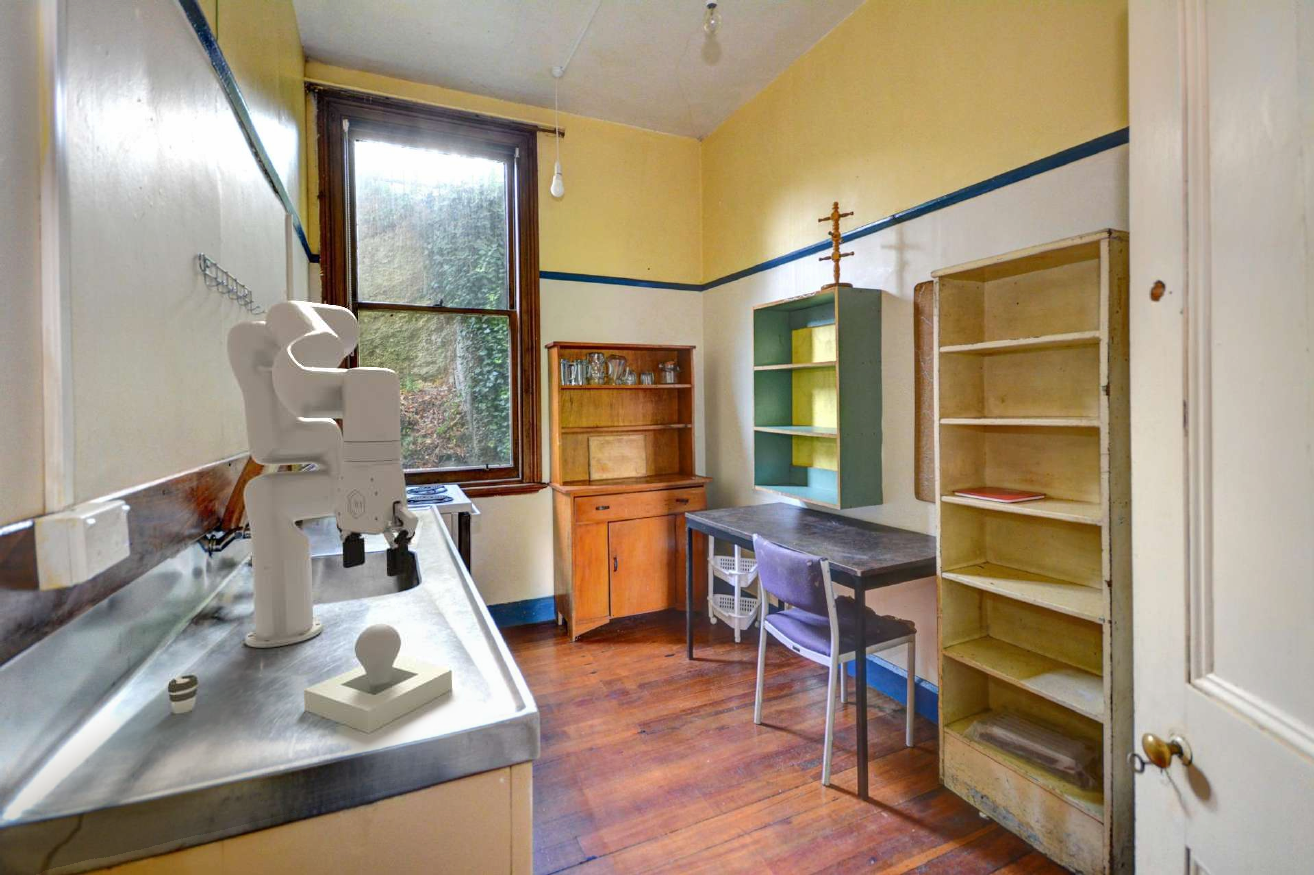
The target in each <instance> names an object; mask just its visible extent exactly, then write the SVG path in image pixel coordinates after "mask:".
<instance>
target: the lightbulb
mask: <svg viewBox="0 0 1314 875" xmlns="http://www.w3.org/2000/svg"><path fill="white" fill-rule="evenodd" d="M401 646H402V639H401V636H400V634H399V632H398V630H397V629H395V627H393V626H392V625H389V624H386V623H376V624H373V625H371V626H368V627H366V629H364V630H363V631H362V632H361V633H360V634H359V635H358V637H357V638H356V641H355V645H354V654H355V657H356V659H357V660H358V662H359V663H360V666H363V667H364V670H365V672H366V675H367V681H368V684H369V685H370V686H369V687H370V692H369V694H372V695H376V694H378V693H380V692H382V691H384V690H386V689H389V688H390V686H391V685H390V684H389V681H390V679H391V671H392V666H393V663H394V661H395V659H396V657H397V656H399V652H400V650H401Z"/></svg>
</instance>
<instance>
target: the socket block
mask: <svg viewBox="0 0 1314 875" xmlns="http://www.w3.org/2000/svg"><path fill="white" fill-rule="evenodd" d="M452 672H453V671H452V669H450V668H447V667H441V666H438V665H434V664H430V663H426V662H422V661H418V660H415V659H411V658H406V657H404V656H399V655H397V657H396V659H395V661H394V663H393V666H392V671H391V679H390V681H389V684H390V685H389V686H391V687H389V689H386V690H384V691H382V692H380V693H378V694H376V695H372V694H370V687H369V686H370V685H369V684H368V681H367V675H366V672H365V670H364V667H363V666H362V665H360V666H358V667H357V666H356V667H355V668H353V669H350V670H348V671H346V672H343V673H341V674H338V675H335V676H333V677H331V678H329V679H325V680H324V681H321V682H318V683H316V684H313V685H311V686H309V687H306V688H304V689H303V696H304V697H303V699H304V700H303V701H304V711H306V712H309V713H311V714H314V715H317V716H319V717H322V718H325V719H328V720H330V721H334V722H336V723H339V724H342V725H345V726H348V727H349V728H350V727H351V728H353V729H355V730H359V731H361V732H364V733H367V734H371V733H372V732H374V731H376V730H378V729H380V728H382V727H384V726H385V725H388V724H389V723H391V722H393V721H395V720H397V719H399V718H401V717H402V716H403V717H404V715H406V714H408V713H410V712H412V711H414V710H416V709H417V708H420V707H421V706H423V705H425V704H427V703H429V702H431V701H433V700H435V699H437V698H438V697H441V696H443V695H445V694H446V693H448V692H450V691H452V690H453V675H452V674H453V673H452Z"/></svg>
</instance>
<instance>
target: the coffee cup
mask: <svg viewBox="0 0 1314 875" xmlns="http://www.w3.org/2000/svg"><path fill="white" fill-rule="evenodd" d="M198 684H199V680H198V677H197V676H196V675H195V674H192V675H191V674H190V675H182V676H181V675H180V676H179V677H178V678H172V680H170V681H169V682H168V686H167V691H168V693H169V694H168V697H169V700H170V705H171V709H172V714H175V715H180V714H184V713H189V712H191V711H192V710H194V708H195V706H196V699H197V698H196V697H197V692H198V691H197V690H198V687H197V685H198Z"/></svg>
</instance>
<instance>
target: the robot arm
mask: <svg viewBox="0 0 1314 875" xmlns="http://www.w3.org/2000/svg"><path fill="white" fill-rule="evenodd" d="M264 319H265V321H264V320H263V321H260V320H259V321H258V320H256V321H254V320H253V321H243V322H242V321H241V322H239V323H236V324H234V325H233V326H232V327H231V328H230V329H229V331H228V333H227V340H226V351H227V352H226V353H227V356H228V361H229V365H230V367H231V370H232V372H233V375H234V377H235V379H236V381H237V384H238V386H239V388H240V390H241V394H242V397H243V402H244V403H243V404H244V413H245V414H244V415H245V424H246V436H247V444H248V450H249V455H250V456H251V459H252V460H253V461H254V462H255V463H257V464H259V465H261V466H262V465H263V466H291V465H308V464H309V465H310V464H312V465H313V466H314V467H315V469H313V470H312V469H310V470H309V469H308V470H289V471H288V470H287V471H276V472H267V473H263V474H260V475H257V476H255V477H253V478H251V479H249V481H248V482H247V483H246V484H245V486H244V490H243V502H244V506H245V507H244V508H245V511H246V516H247V520H248V521H247V522H248V525H249V530H250V531H249V532H250V541H251V542H250V543H251V559H252V560H251V561H252V564H251V566H252V587H253V614H251V616H250V621H252V622H254V629H253V630H252V631H250V632H248V633H247V634H246V636H244V637H245V638H244V640H245V641H244V642H245V644H246V645H247V646H248V647H252V648H260V649H261V648H262V649H263V648H274V647H281V646H282V647H285V646H288V645H293V644H296V643H302V642H304V641H307V640H309V639H312V638H314V637H316V636H318V635H319V634H320V633H322V631H323V629H324V628H323V627H324V625H323V624H324V623H323V622H322V621H320V620H317V619H314V603H313V602H314V600H313V577H312V576H313V574H312V572H313V570H312V569H313V568H312V549H311V548H312V547H311V546H312V545H311V541H310V539H309V537H308V536H307V535H306V533H305V532H304V531H303V530H302V529H300V528H299V527H298V526H297V525H296V523H295V522H297V521H302V520H307V519H314V518H315V519H316V518H323V517H331V516H334V519H335V521H336V528H337V530H338V531H339V533H340V535H339V539H340V541H342V542H341V543H342V567H343V568H344V569H351V568H355V567H358V566H363V565H364V564H365V563H366V551H365V550H366V549H365V548H366V546H365V542H366V541H365V537H362V536H363V535H369V536H379V535H383V536H384V538H385V540H386V542H387V544H388V548H387V547H386V575H387V577H389V578H391V577H395V576H399V575H403V574H406V573H408V572H409V569H410V568H409V565H410V564H409V562H410V561H409V546H410V545H412V539H413V538H414V537H415V535H416V530H417V527H418V523H419V521H420V520H419V517H418V516H417V515H416V514H414V512H412V511H411V509H409V508H408V496H407V486H406V479H405V473H404V467H403V464H402V448H401V447H402V445H401V444H402V442H401V441H402V438H401V405H400V404H401V402H400V401H401V400H400V399H401V398H400V397H401V396H400V395H401V394H400V378H399V375H398V374H397V373H396V371H395V370H392V369H389V368H382V367H381V368H380V367H353V368H349V369H347V368H339V366H340V365H341V364H342V363H343V360H344V359H345V358H346V357H347V356H349V355H350V354H351V353H352V352H354V350H355V349H356V347H357V346H358V343H359V339H360V333H361V332H360V330H361V329H360V324H359V321H358V320H357V318H356V316H355V315H354V313H352V312H351V311H350V310H349V309H348V308H345V307H342V306H338V305H329V304H323V303H315V302H307V301H298V300H287V301H280V302H278V303H276V304H274V305H273V306H271V307H270V308H269V310H267V313H266V314H265V318H264ZM334 419H335V420H336V419H338V420H339V419H342V429H341V428H340V426H339V424H338V423H337V422H336V421H335V420H334ZM396 533H397V535H396V536H395V534H396Z"/></svg>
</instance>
